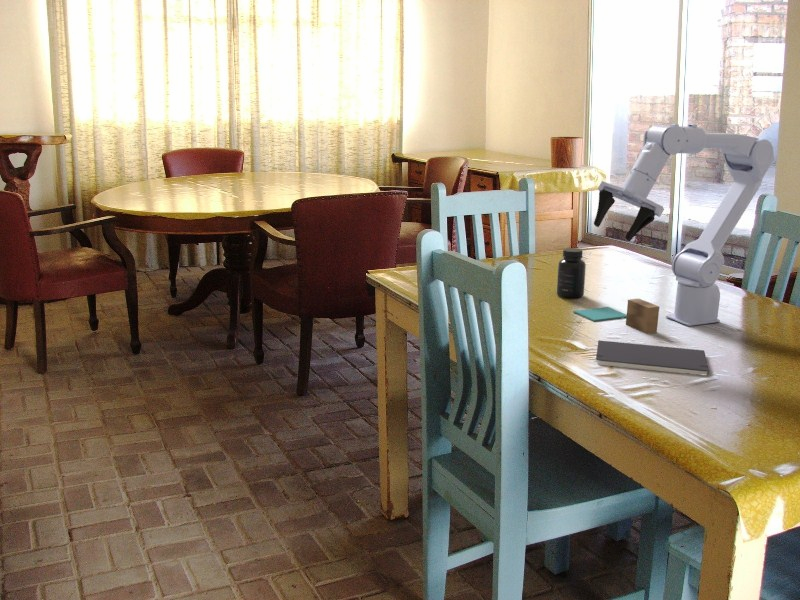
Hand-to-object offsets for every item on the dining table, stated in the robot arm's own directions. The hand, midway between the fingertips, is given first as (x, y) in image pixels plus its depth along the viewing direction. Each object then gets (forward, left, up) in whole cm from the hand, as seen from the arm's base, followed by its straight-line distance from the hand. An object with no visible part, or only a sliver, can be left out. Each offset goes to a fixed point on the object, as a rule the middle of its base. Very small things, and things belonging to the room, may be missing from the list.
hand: (611, 232), depth 184 cm
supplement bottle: (-11, -29, -23) cm, 38 cm away
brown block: (-10, 0, -23) cm, 25 cm away
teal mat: (-8, -12, -22) cm, 27 cm away
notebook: (+2, +18, -23) cm, 30 cm away
